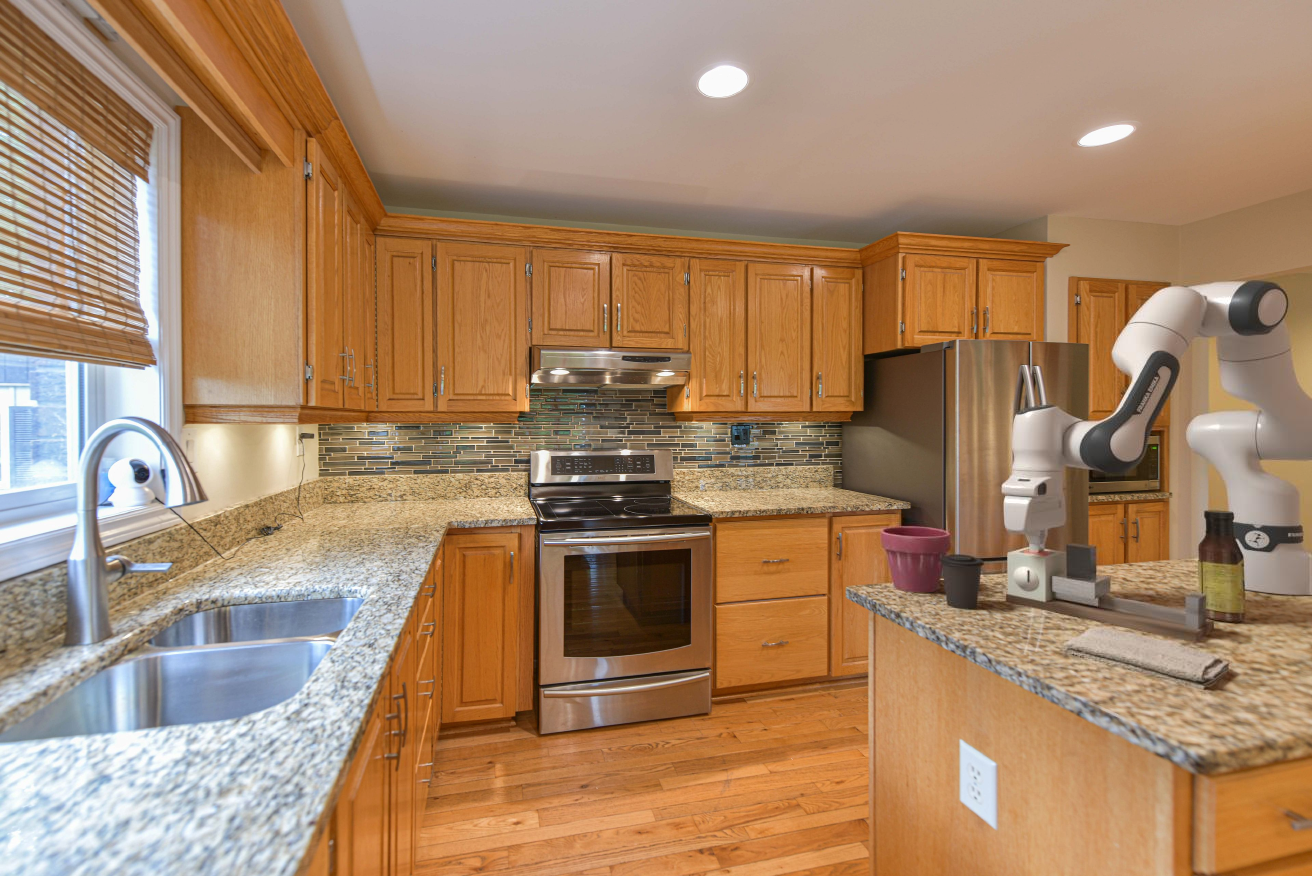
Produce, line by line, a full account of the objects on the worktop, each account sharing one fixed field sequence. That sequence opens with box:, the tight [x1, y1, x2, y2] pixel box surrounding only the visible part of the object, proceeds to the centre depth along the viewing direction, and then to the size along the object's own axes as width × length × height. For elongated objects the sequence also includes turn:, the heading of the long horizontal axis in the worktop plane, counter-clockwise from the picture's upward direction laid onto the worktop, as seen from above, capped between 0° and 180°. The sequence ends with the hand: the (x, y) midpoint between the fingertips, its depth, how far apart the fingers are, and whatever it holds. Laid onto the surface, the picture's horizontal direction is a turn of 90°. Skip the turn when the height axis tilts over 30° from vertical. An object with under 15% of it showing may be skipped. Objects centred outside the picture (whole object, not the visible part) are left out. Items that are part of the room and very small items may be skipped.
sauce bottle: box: [1197, 509, 1247, 623], centre depth 110 cm, size 7×6×20 cm
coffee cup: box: [939, 553, 985, 610], centre depth 120 cm, size 8×8×10 cm
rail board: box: [1005, 592, 1215, 643], centre depth 113 cm, size 11×30×6 cm, turn 36°
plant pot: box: [880, 525, 951, 594], centre depth 133 cm, size 14×14×13 cm
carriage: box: [1052, 542, 1111, 606], centre depth 116 cm, size 8×7×11 cm
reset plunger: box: [1024, 549, 1050, 556], centre depth 122 cm, size 4×4×6 cm
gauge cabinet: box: [1006, 546, 1066, 602], centre depth 122 cm, size 10×7×10 cm
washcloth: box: [1062, 626, 1230, 691], centre depth 91 cm, size 12×18×3 cm, turn 36°
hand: (1036, 551), depth 122 cm, fingers closed, pressing on reset plunger
